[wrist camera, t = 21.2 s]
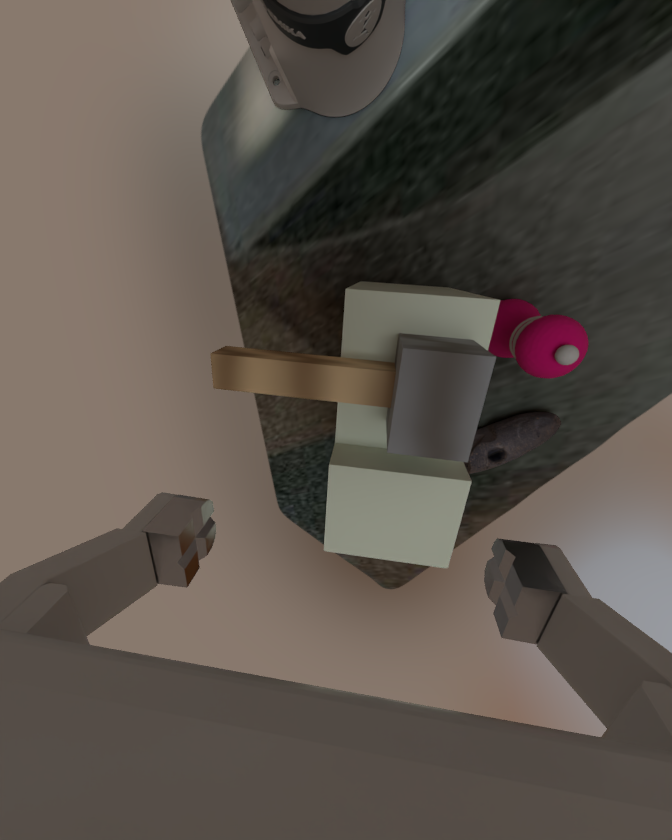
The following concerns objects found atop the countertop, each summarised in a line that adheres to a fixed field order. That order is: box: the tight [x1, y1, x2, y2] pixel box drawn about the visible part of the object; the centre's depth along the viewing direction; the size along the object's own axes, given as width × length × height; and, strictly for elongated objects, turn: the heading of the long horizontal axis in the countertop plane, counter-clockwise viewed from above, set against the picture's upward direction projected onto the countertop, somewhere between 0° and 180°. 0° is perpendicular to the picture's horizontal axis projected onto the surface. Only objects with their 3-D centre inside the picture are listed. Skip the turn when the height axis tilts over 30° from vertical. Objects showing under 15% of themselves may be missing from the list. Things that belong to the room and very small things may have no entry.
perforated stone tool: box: [464, 412, 561, 474], centre depth 50 cm, size 15×5×7 cm, turn 119°
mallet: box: [211, 333, 496, 463], centre depth 27 cm, size 21×8×6 cm, turn 86°
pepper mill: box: [488, 299, 588, 378], centre depth 38 cm, size 7×7×20 cm
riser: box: [324, 281, 500, 568], centre depth 39 cm, size 12×24×26 cm, turn 177°
